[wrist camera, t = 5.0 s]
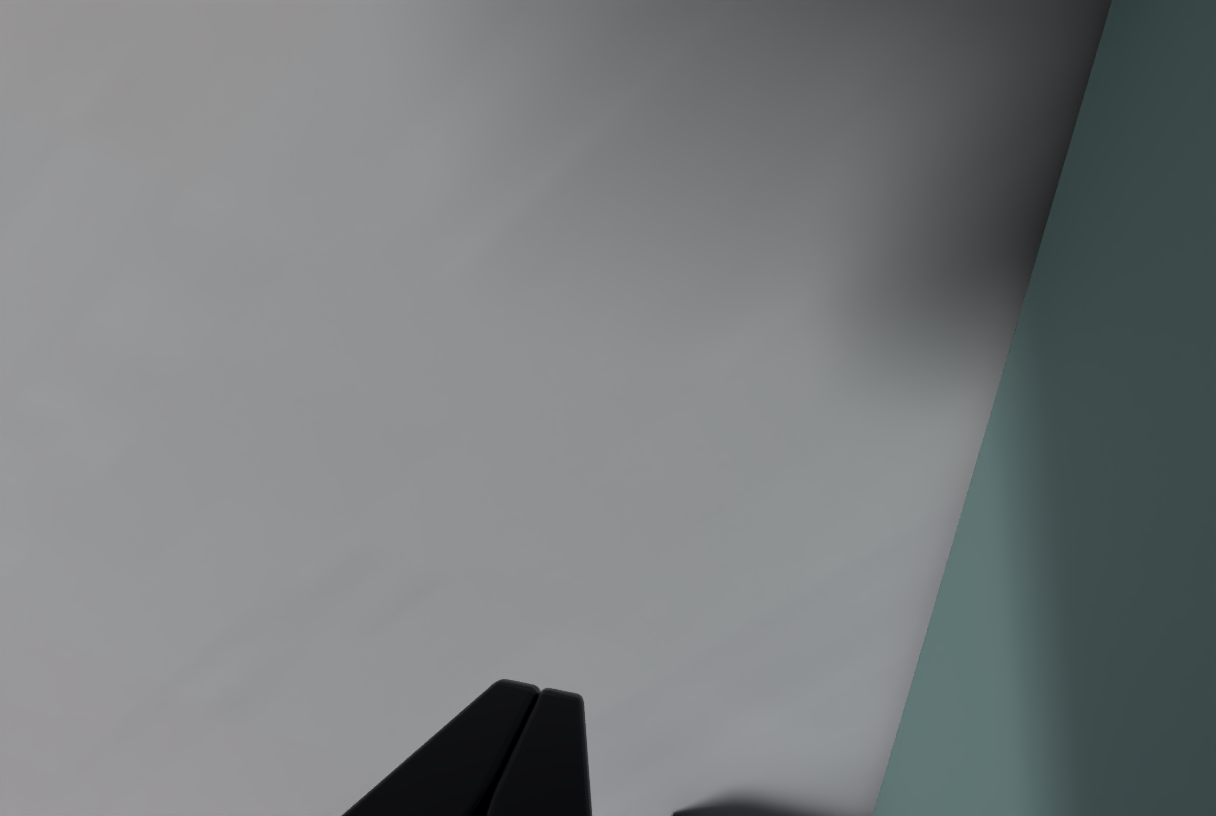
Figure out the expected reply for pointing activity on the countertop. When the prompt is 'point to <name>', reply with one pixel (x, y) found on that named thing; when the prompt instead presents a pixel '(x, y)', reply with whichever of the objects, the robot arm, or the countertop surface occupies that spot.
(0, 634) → the countertop surface
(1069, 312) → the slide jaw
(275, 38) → the countertop surface
